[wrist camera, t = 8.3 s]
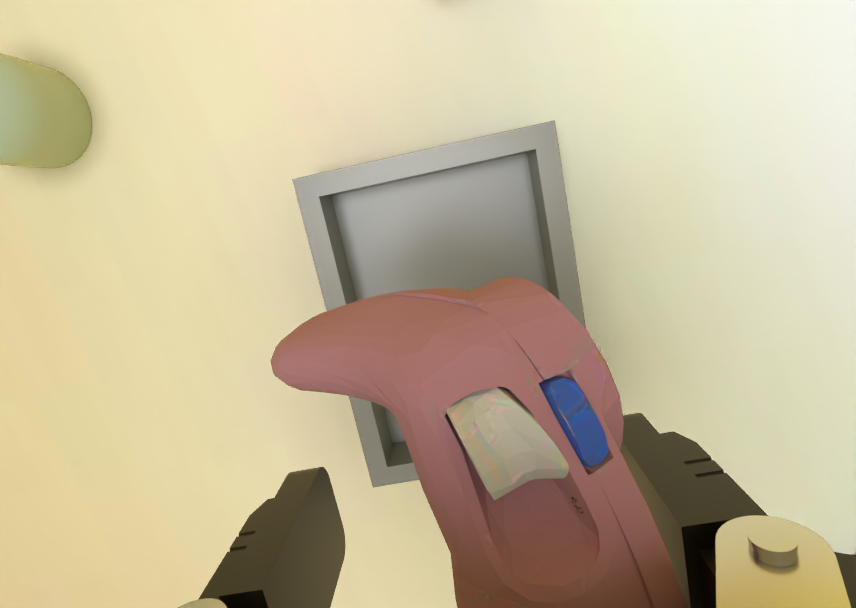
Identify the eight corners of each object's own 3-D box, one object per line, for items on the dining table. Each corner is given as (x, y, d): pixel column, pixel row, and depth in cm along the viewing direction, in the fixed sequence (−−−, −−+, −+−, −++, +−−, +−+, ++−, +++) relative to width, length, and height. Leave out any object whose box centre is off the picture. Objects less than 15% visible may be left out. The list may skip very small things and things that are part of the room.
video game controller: (553, 580, 14) (829, 835, 8) (413, 682, 13) (609, 1107, 6) (434, 252, 12) (664, 225, 6) (252, 328, 11) (293, 404, 4)
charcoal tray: (540, 129, 25) (554, 120, 22) (585, 417, 29) (603, 448, 25) (312, 180, 26) (292, 179, 23) (381, 453, 30) (373, 487, 26)
